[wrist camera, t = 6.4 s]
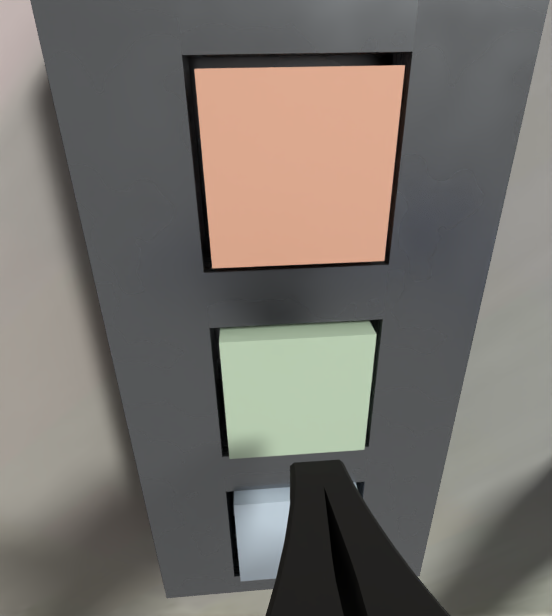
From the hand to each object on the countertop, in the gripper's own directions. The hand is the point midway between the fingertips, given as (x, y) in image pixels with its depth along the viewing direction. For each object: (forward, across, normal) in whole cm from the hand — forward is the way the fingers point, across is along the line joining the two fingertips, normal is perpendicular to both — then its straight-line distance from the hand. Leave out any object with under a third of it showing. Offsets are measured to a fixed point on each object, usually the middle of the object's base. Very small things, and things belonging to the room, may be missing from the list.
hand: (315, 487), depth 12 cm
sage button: (+7, 0, 0) cm, 7 cm away
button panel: (+7, 0, 0) cm, 7 cm away
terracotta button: (+7, 0, -8) cm, 10 cm away
